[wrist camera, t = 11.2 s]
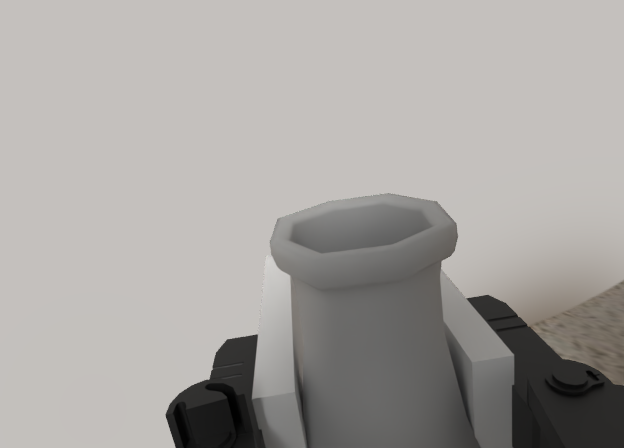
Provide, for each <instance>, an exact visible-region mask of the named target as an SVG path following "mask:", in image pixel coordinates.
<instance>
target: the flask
mask: <svg viewBox="0 0 624 448" xmlns="http://www.w3.org/2000/svg"><path fill="white" fill-rule="evenodd" d="M457 238H458V234H457V225H456V223H455V222H454V220H453V219H452V218H451V217H450V216H449V215H448V214H447V213H446V212H445V210H444V209H443V208H442V207H441V206H440V205H439V204H438V203H437V202H435V201H430V200H424V199H418V198H412V197H407V196H400V195H395V194H389V193H388V194H380V195H373V196H365V197H358V198H351V199H343V200H336V201H329V202H326V203H323V204H320V205H317V206H314V207H311V208H308V209H305V210H302V211H299V212H296V213H293V214H291V215H288V216H285V217H282V218H279V219H278V220H277V223H276V225H275V228H274V231H273V234H272V237H271V240H270V247H271V255H272V257H273V259H274V261H275V263H276V265H277V267H278V268H279V269H280V270H281V271H283V272H285V273H287V274H289V275H291V277H292V281H293V284H294V287H295V290H296V296H297V303H298V309H299V315H300V321H301V327H302V334H303V340H304V355H303V420H304V426H305V433H306V439H307V446H308V448H481V447H480V445H479V443H478V441H477V439H476V438H475V436H474V432H473V429H472V427H471V425H470V422H469V420H468V418H467V415H466V411H465V407H464V404H463V400H462V396H461V392H460V389H459V385H458V381H457V378H456V374H455V370H454V366H453V363H452V359H451V355H450V351H449V348H448V344H447V340H446V337H445V333H444V322H443V309H442V296H441V284H440V273H441V261H442V260H444V259H446V258H448V257H450V256H451V255H452V253H453V252H454V251H455V246H456V242H457Z"/></svg>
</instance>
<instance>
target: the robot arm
mask: <svg viewBox="0 0 624 448" xmlns="http://www.w3.org/2000/svg"><path fill="white" fill-rule="evenodd" d="M440 284H441V296H442V309H443V322H444V333H445V337H446V340H447V344H448V348H449V351H450V355H451V359H452V363H453V366H454V370H455V374H456V378H457V381H458V385H459V389H460V392H461V396H462V400H463V404H464V407H465V411H466V415H467V418H468V420H469V422H470V425H471V427H472V429H473V432H474V436H475V438H476V439H477V441H478V443H479V445H480V447H481V448H624V386H622V385H614V384H612V382H611V381H610V380H609V379H608V378H607V377H605V376H604V375H603V374H602V373H601V372H600V371H598V370H596V369H594V368H592V367H590V366H588V365H586V364H583V363H580V362H576V361H572V360H565V359H562V358H561V357H560V356H559V355H558V354H557V353H556V352H555V351H554V350H553V349H552V348H551V347H550V346H549V345H548V344H546V343H545V342H544V341H543V340H542V339H541V338H540V337H539V336H538V335H537V334H536V333H535V332H534V331H533V330H532V329H531V328H530V327H528V326H527V324H526V323H525V322H524V321H523V320H522V319H521V318H520V317H518V316H517V314H516V313H515V312H514V311H513V310H512V309H511V308H510V307H509V306H508V305H507V304H506V303H504V302H502V301H500V300H498V299H495V298H493V297H491V296H489V295H485V296H479V297H473V298H467V299H466V298H465V297H464V296H463V294H462V293H461V292H460V291H459V290H458V288H457V287H456V286H455V285H454V284H453V283H452V281H451V280H450V279H449V278H448V277H447V276H446V274H445V273H444V272H443V271H442V270H441V273H440ZM303 355H304V340H303V334H302V327H301V321H300V315H299V309H298V303H297V296H296V290H295V287H294V284H293V281H292V277H291V275H289V274H287V273H285V272H283V271H281V270H280V269H279V268H278V267H277V265H276V263H275V261H274V259H273V257H272V255H271V256H266V259H265V270H264V281H263V290H262V300H261V311H260V321H259V331H258V335H252V336H246V337H240V338H234V339H228V340H226V342H225V343H224V344H223V345H222V346H221V348H220V349H219V350H218V351H217V352H216V355H215V359H214V363H213V370H212V371H211V375H210V380H205V381H202V382H200V383H197V384H194V385H192V386H190V387H189V388H187V389H186V390H184V391H183V392H181V393H180V394H179V395H178V396H177V397H176V398H175V399H174V400H173V401H172V403H171V404H170V405H169V408H168V410H167V413H166V418H167V421H168V424H169V428H170V431H171V434H172V437H173V440H174V443H175V447H176V448H308V446H307V439H306V433H305V426H304V420H303Z"/></svg>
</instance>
